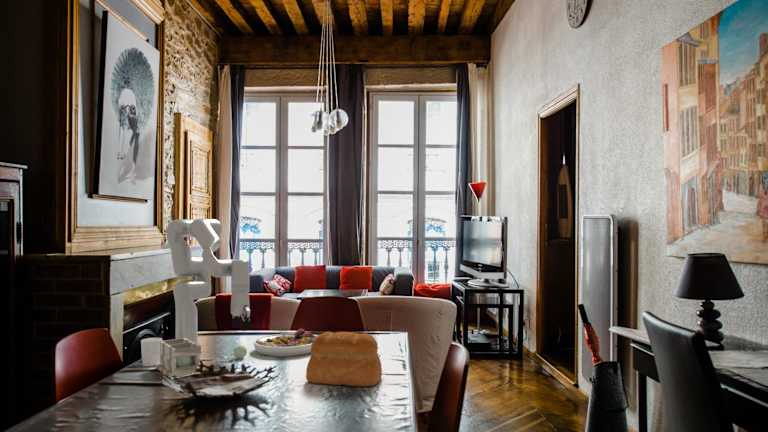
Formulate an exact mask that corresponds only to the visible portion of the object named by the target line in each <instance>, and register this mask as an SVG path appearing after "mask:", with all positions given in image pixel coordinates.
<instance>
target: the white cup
mask: <svg viewBox="0 0 768 432" xmlns="http://www.w3.org/2000/svg"><path fill="white" fill-rule="evenodd" d="M160 341H163V338H162V337H148V338H143V339H141V340H140V345H141V346H140V348H141V361H142V363H141V364H142V366H144V367H153V366H156V364H160Z"/></svg>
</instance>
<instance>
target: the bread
mask: <svg viewBox="0 0 768 432" xmlns="http://www.w3.org/2000/svg"><path fill="white" fill-rule="evenodd" d="M317 336H318V337H316V339H315V340H314V341H313V343H312V346H311V353H310V354H311V355H310V358H309V360H308V362H307V366H306V369H305V370H306V373H305V374H306V375H305V378H306V381H307V382H309V383H312V384H318V385H319V384H324V385H332V386H343V385H346V386H350V387H373V386H375V385H378V384H379V382H380V381H381V380H382V373H383V369H382V362H381V359H380V357H379V355H378V348H379V347H378V346H379V345H378V342H377V340H376V338H374V337H373V335H371V334H369V333H366V332H363V333H358V332H353V331H350V332H349V331H337V332H332V331H326V332H323V333H321V334H319V335H317Z"/></svg>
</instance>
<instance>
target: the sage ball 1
mask: <svg viewBox="0 0 768 432" xmlns="http://www.w3.org/2000/svg"><path fill="white" fill-rule="evenodd" d="M190 365H191V358H190V357H189V356H186V357H179V358H177V359H176V366H177V368H181V367H187V366H190Z"/></svg>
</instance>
